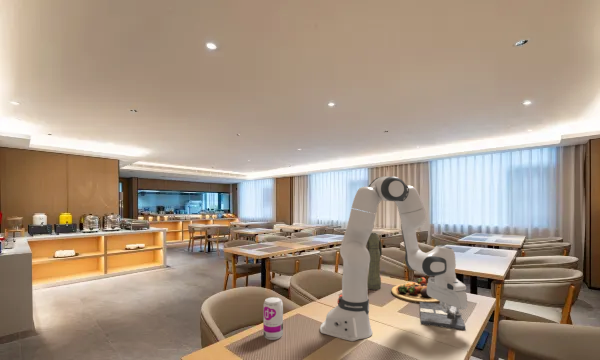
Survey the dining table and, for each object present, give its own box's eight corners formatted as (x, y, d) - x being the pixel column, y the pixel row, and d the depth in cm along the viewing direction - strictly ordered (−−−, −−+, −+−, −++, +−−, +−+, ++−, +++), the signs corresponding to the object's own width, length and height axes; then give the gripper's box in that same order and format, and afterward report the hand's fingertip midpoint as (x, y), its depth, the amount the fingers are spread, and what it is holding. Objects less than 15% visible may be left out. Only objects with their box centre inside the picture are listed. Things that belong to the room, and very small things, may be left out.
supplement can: (275, 342, 119) (275, 304, 119) (259, 337, 123) (259, 300, 124) (286, 334, 125) (286, 298, 126) (271, 329, 130) (271, 295, 131)
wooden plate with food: (406, 284, 198) (405, 271, 198) (457, 294, 175) (456, 280, 176) (381, 296, 176) (380, 282, 176) (436, 310, 153) (435, 294, 153)
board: (421, 324, 135) (420, 312, 135) (419, 304, 159) (419, 294, 159) (466, 330, 128) (466, 317, 128) (458, 309, 152) (457, 298, 153)
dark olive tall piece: (385, 288, 187) (384, 233, 189) (370, 290, 183) (369, 234, 185) (377, 284, 195) (376, 232, 198) (362, 286, 191) (361, 232, 193)
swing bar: (451, 303, 145) (451, 299, 145) (460, 304, 143) (460, 301, 143) (445, 318, 128) (445, 313, 128) (456, 320, 125) (455, 315, 126)
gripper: (423, 276, 143) (423, 305, 142) (458, 288, 124) (459, 322, 123) (433, 275, 145) (433, 303, 144) (469, 287, 126) (470, 320, 125)
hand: (445, 312), depth 133 cm, fingers closed
